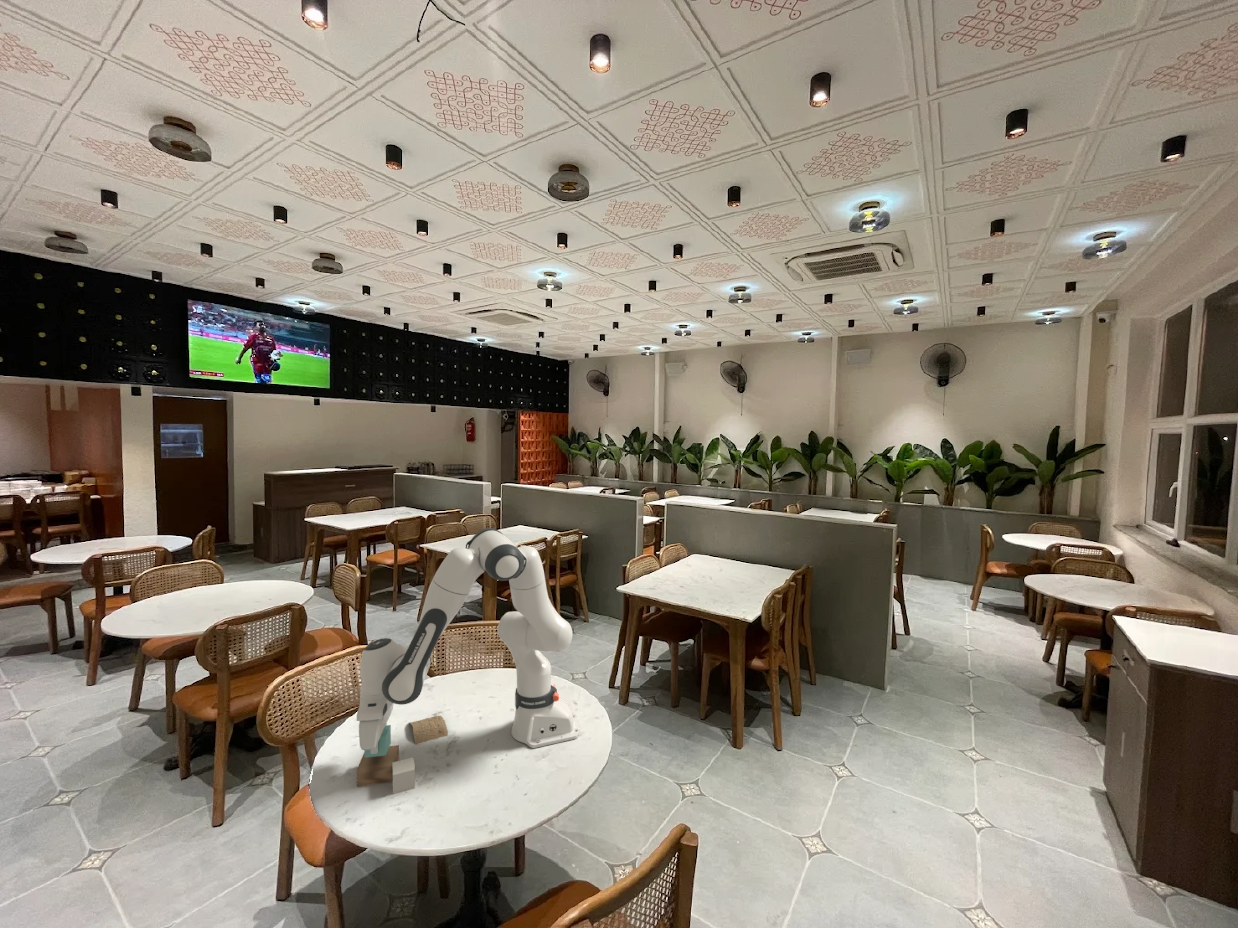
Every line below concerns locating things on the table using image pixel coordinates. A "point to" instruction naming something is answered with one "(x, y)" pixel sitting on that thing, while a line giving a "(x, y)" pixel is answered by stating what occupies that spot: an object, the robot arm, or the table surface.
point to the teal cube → (381, 743)
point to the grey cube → (403, 775)
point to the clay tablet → (429, 729)
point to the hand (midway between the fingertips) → (378, 744)
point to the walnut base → (377, 768)
